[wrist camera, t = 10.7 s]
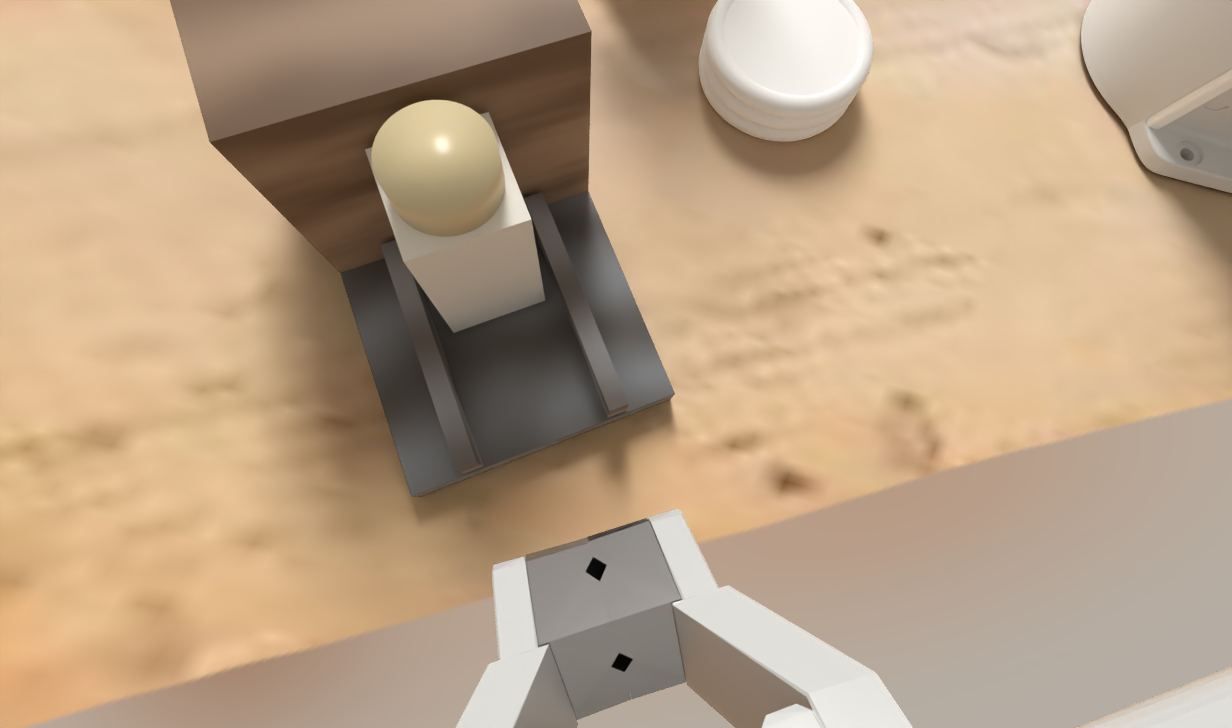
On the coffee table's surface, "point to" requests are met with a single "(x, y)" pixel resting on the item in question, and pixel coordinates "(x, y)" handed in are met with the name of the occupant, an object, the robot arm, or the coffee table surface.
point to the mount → (361, 231)
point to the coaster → (784, 64)
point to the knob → (457, 211)
